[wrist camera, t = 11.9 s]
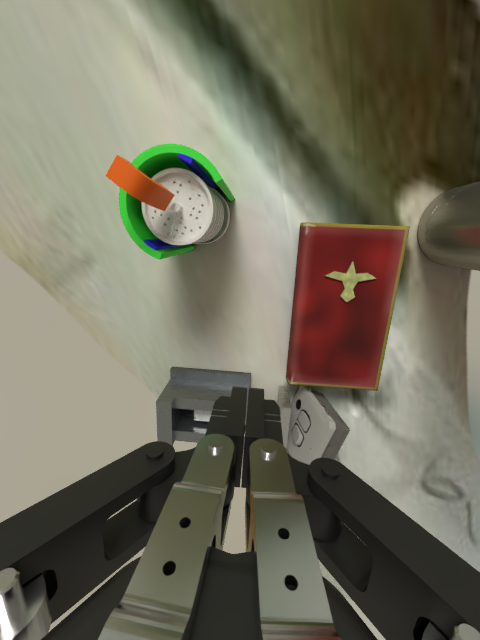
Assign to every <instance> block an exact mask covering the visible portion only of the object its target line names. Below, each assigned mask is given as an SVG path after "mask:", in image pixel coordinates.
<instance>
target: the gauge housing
mask: <svg viewBox="0 0 480 640" xmlns="http://www.w3.org/2000/svg"><path fill="white" fill-rule="evenodd" d="M250 379H251V373H244V372H231V371H219V370H206V369H194V368H181V367H172V368H171V379H170V381H169V382H168V384H167V385H166V387H165V388H164V390H163V392H162V393H161V395H160V396H159V398H158V399H157V401H156V407H157V408H156V409H157V437H158V441H161V442H166V443H169V444H170V445H173V443H174V441H175V440H177V441H188V442H199V441H200V439H201V438H203V437H204V436H205V434H206V431H207V427H208V424H209V422H207V421H196V420H194V410H201V411H212V410H213V406H214V402H215V401H216V400H217V399H218V398H219V397H220V396H228V397H231V393H232V387H233V386H234V387H246V388H248V390H247V405H248V393H249V388H250ZM247 405H246V415H247ZM245 429H246V425H245ZM244 442H245V432H244ZM243 447H244V444H243Z"/></svg>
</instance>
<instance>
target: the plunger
mask: <svg viewBox="0 0 480 640" xmlns="http://www.w3.org/2000/svg"><path fill="white" fill-rule="evenodd" d="M278 406H279V407H280V416H281V426H282V436H283V445H284V447H285V448H287V440H288V431H289V423H290V414H291V405H290V399H289V393H288V387H284V386H279V394H278ZM211 413H212V411H201V410H194V420H196V421H207V422H209V420H210V417H211ZM246 417H247V415H246ZM245 425H246V419H245Z"/></svg>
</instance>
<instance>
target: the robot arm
mask: <svg viewBox="0 0 480 640" xmlns="http://www.w3.org/2000/svg"><path fill="white" fill-rule="evenodd" d="M418 240H419V244H420V247H421V249H422V251H423V252H424V254H425V255H426V256H427V257H428V258H429V259H431V260H432V261H434V262H436V263H439V264H443V265H448V266H454V267H461V268H466V269H472V270H479V271H480V182H477V183H473V184H469V185H465V186H461V187H457V188H454V189H451V190H448V191H446V192H444V193H443V194H441V195H439V196H438V197H437V198H436V199H434V200H433V201H432V202H431V203H430V205H429V206H428V207H427V208H426V210H425V211H424V213H423V215H422V217H421V220H420V223H419V228H418ZM247 390H248V388H246V387H234V386H233V387H232V393H231V397H228V396H220V397H219V398H218V399H217V400H216V401H215V402H214V406H213V410H212V413H211V417H210V420H209V424H208V427H207V431H206V434H205V436H204V437H203V438H201V439H200V441H199V442H198V444H197V446H196V447H195V448H193V449H190V450H187V451H181V452H175V450H174V448H173V446H172V445H170V444H169V443H166V442H161V441H157V442H151V443H148V444H146V445H144V446H142V447H140V448H138V449H136V450H134V451H133V452H131V453H129V454H127V455H125V456H123V457H122V458H120V459H118V460H116V461H114V462H112V463H110V464H108V465H107V466H105V467H103V468H101V469H99V470H98V471H96V472H94V473H92V474H90V475H88V476H86V477H84V478H83V479H81V480H79V481H77V482H75V483H73V484H71V485H70V486H68V487H66V488H64V489H62V490H60V491H59V492H57V493H55V494H53V495H51V496H49V497H48V498H46V499H44V500H42V501H40V502H38V503H36V504H34V505H33V506H31V507H29V508H27V509H25V510H23V511H21V512H20V513H18V514H16V515H14V516H12V517H10V518H9V519H7V520H5V521H3V522H1V523H0V640H377V638H376V637H375V636H374V635H373V633H372V632H371V631H370V630H369V628H368V627H367V626H366V624H365V623H364V622H363V620H362V619H361V618H360V617H359V615H358V614H357V613H356V612H355V610H354V609H353V608H352V606H351V605H350V604H349V603H348V601H347V600H346V599H345V598H344V596H343V595H342V594H341V593H340V592H339V591H338V590H337V589H336V588H335V587H334V586H333V585H332V584H331V583H330V582H329V581H328V580H327V579H325V578H324V577H322V574H321V570H320V566H319V562H318V559H319V560H320V562H321V563H322V564H323V565H324V566H325V568H326V569H327V570H328V571H329V572H330V574H331V575H332V576H333V577H334V578H335V580H336V581H337V582H338V583H339V584H340V585H341V587H342V588H343V589H344V590H345V591H346V593H347V594H348V595H349V596H350V597H351V599H352V600H353V601H354V602H355V603H356V604H357V606H358V607H359V608H360V609H361V610H362V612H363V613H364V614H365V615H366V616H367V618H368V619H369V620H370V621H371V622H372V623H373V625H374V626H375V627H376V628H377V630H378V631H379V632H380V633H381V634H382V636H383V637H384V638H385V639H386V640H480V572H478V571H477V570H476V569H474V568H473V567H472V566H471V565H469V564H468V563H467V562H466V561H464V560H463V559H462V558H461V557H459V556H458V555H457V554H455V553H454V552H453V551H452V550H450V549H449V548H448V547H447V546H445V545H444V544H443V543H441V542H440V541H439V540H438V539H436V538H435V537H434V536H433V535H431V534H430V533H429V532H428V531H426V530H425V529H424V528H422V527H421V526H420V525H419V524H417V523H416V522H415V521H414V520H412V519H411V518H410V517H408V516H407V515H406V514H405V513H403V512H402V511H401V510H400V509H398V508H397V507H396V506H395V505H393V504H392V503H391V502H389V501H388V500H387V499H386V498H384V497H383V496H382V495H381V494H379V493H378V492H377V491H375V490H374V489H373V488H372V487H370V486H369V485H368V484H367V483H365V482H364V481H363V480H362V479H360V478H359V477H358V476H356V475H355V474H354V473H353V472H351V471H350V470H349V469H348V468H346V467H345V466H344V465H342V464H341V463H340V462H338V461H336V460H333V459H330V458H317V459H315V460H313V461H312V462H311V463H310V465H308V464H306V463H303V462H300V461H298V460H296V459H294V458H293V457H291V456H290V455H289V454H288V453H287V450H286V448H285V447H284V445H283V436H282V426H281V416H280V407H279V406H278V404H277V403H276V402H275V401H274V400H264V389H259V388H249V393H248V405H247ZM246 405H247V417H246ZM245 419H246V429H245ZM244 432H245V442H244ZM243 444H244V457H243V471H242V487H243V488H246V503H245V526H246V552H245V553H239V554H230V553H227V552H224V551H222V550H223V545H224V540H225V534H226V529H227V524H228V519H229V514H230V509H231V500H232V498H233V494H234V487H240V478H241V467H242V455H243ZM135 499H137V500H136V501H135V502H133V503H132V504H131V505H129V506H128V507H126V508H125V509H123V510H122V511H120V512H119V513H117V514H116V515H114V516H113V517H111V518H110V519H108V518H109V517H110V516H111V515H113V514H114V513H116V512H117V511H119V510H120V509H122V508H123V507H125V506H126V505H128V504H129V503H131V502H132V501H134V500H135ZM107 519H108V520H107ZM145 546H146V547H145ZM144 547H145V550H144V552H143V554H142V556H141V557H139V558H137V559H136V560H134V561H132V562H130V563H129V564H128V565H126V566H125V567H123V568H122V569H121V570H120V571H119V572H117V573H116V574H115V575H114V576H113V577H112V578H110V579H109V580H108V581H107V582H106V583H105V584H104V585H102V586H101V587H100V588H99V589H98V590H97V591H96V592H94V593H93V594H92V595H91V596H90V597H89V598H88V599H87V600H85V601H84V602H83V603H82V604H81V605H80V606H78V607H77V608H76V609H75V610H74V611H73V612H72V613H70V615H68V616H67V617H66V618H65V619H64V620H62V621H61V622H60V623H59V624H58V625H57V626H56V627H54V628H53V629H52V630H51V631H50V632H49V633H48V631H49V628H50V625H51V624H52V623H53V622H54V621H55V620H56V619H58V618H59V617H60V616H61V615H62V614H63V613H65V612H66V611H67V610H69V609H70V608H71V607H72V606H74V605H75V604H76V603H77V602H78V601H79V600H81V599H82V598H83V597H84V596H86V595H87V594H88V593H89V592H91V591H92V590H93V589H94V588H95V587H97V586H98V585H99V584H100V583H102V582H103V581H104V580H105V579H106V578H107V577H109V576H110V575H111V574H112V573H114V572H115V571H116V570H117V569H119V568H120V567H121V566H122V565H123V564H125V563H126V562H127V561H128V560H130V559H131V558H132V557H133V556H134V555H136V554H137V553H138V552H139V551H140V550H142V549H143V548H144Z"/></svg>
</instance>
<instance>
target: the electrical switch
mask: <svg viewBox="0 0 480 640" xmlns="http://www.w3.org/2000/svg"><path fill="white" fill-rule="evenodd" d="M310 390H311V389H310V388H309V386H305V385H300V386H299V388H298V390H297V393H296V395H295V397H294V399H293V401H292V404H291V414H290V423H289V431H288V440H287V450H288V452H289V455H290V456H291V457H293V458H294V459H296V460H298V461H300V462H303V463H306V464H308V465H310V463H311V462H312V461H313V460H315V459H317V458H330V459H333V460H334V459H335V457H336V455H337V453H338V451H339V449H340V448H341V446H342V444H343V442H344V440H345V438H346V437H347V435H348V433H349V431H350V430H349V428H348V426H347V425H346V424H345V422H344V421H343V420H342V418H341V417H340V416H339V415H338V413H337V412H336V411H335V409H334V408H333V407H332V406H331V404H330V403H329V402H328V400H327V399H326V398H325V397H324V395H323V394H321V393H316V392H313V391H310ZM320 403H321V404H320ZM322 404H324V405H322ZM324 407H325V408H326V409H325V408H324ZM324 456H325V457H324Z"/></svg>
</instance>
